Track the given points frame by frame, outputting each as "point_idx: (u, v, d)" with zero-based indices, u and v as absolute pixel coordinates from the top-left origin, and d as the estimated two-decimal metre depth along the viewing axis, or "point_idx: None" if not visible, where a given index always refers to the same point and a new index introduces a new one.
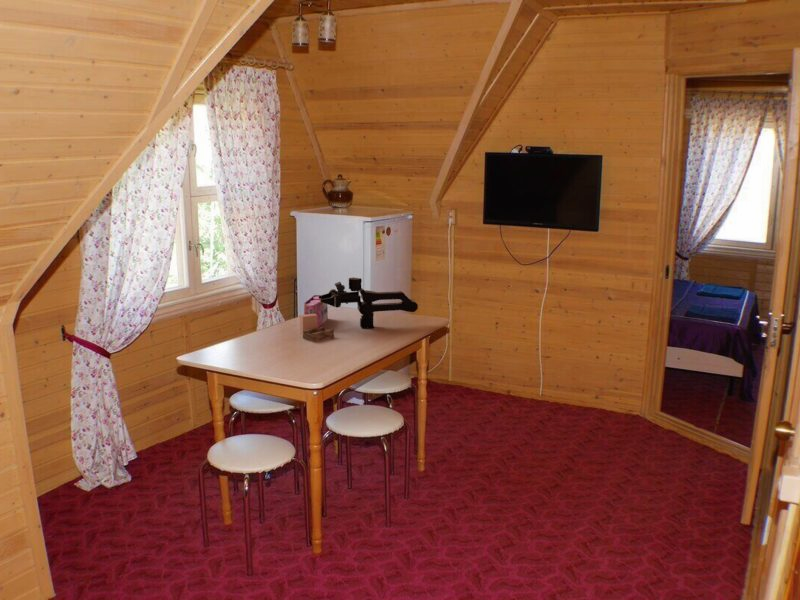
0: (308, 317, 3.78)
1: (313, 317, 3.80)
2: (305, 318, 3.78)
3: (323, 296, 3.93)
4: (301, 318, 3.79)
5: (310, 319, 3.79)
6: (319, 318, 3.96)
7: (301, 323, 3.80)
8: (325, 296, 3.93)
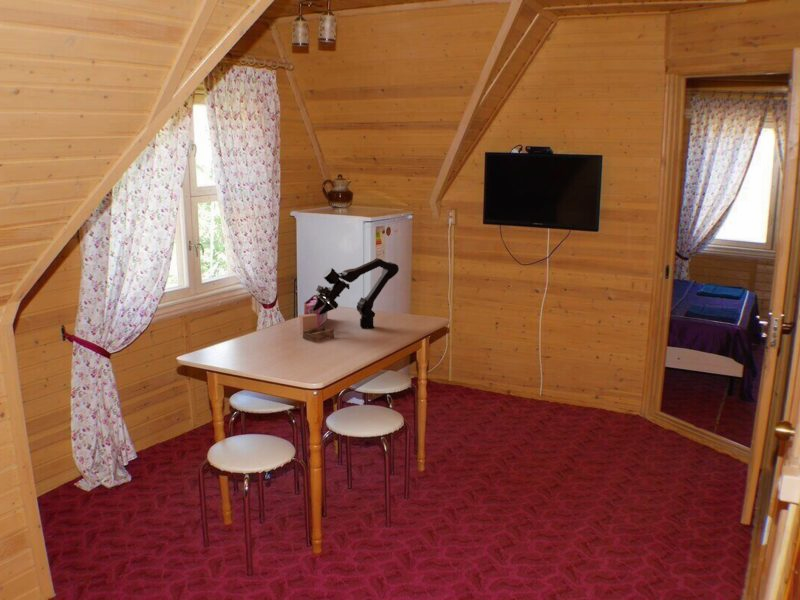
0: (308, 317, 3.78)
1: (313, 317, 3.80)
2: (305, 318, 3.78)
3: (316, 306, 3.86)
4: (301, 318, 3.79)
5: (310, 319, 3.79)
6: (319, 318, 3.96)
7: (301, 323, 3.80)
8: (317, 305, 3.87)
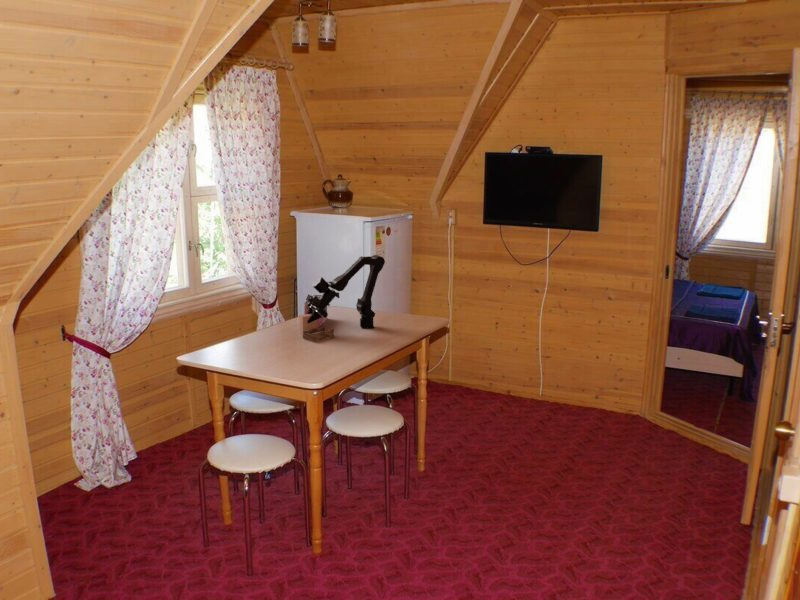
0: (308, 317, 3.78)
1: None
2: (305, 318, 3.78)
3: None
4: (301, 318, 3.79)
5: None
6: (319, 318, 3.96)
7: (301, 323, 3.80)
8: None
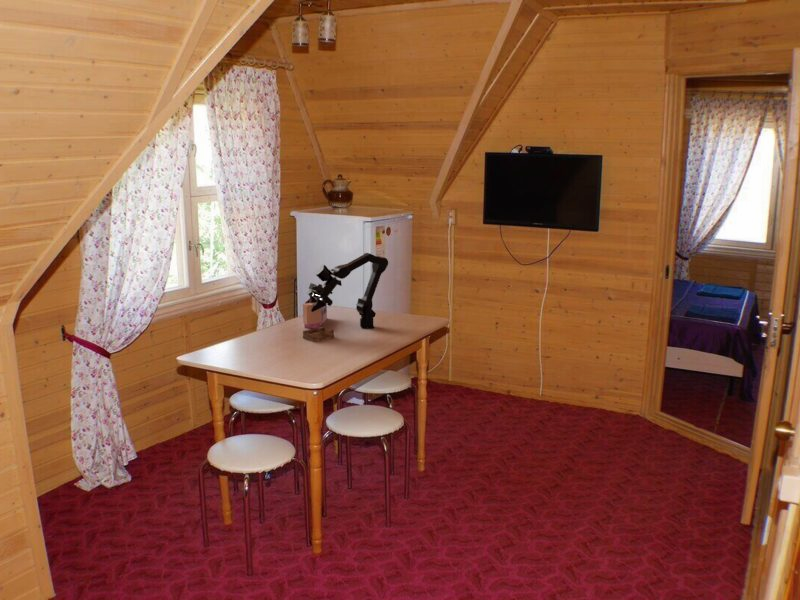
0: (312, 306, 3.73)
1: None
2: (309, 307, 3.73)
3: None
4: (305, 307, 3.73)
5: None
6: None
7: (304, 312, 3.74)
8: None
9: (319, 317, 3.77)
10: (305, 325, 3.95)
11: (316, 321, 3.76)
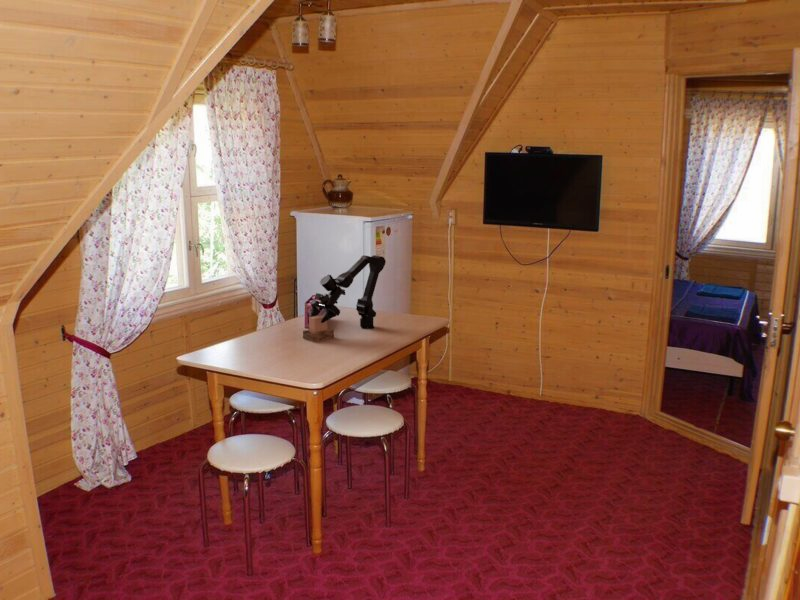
0: (319, 319, 3.70)
1: None
2: (316, 320, 3.69)
3: (313, 315, 3.76)
4: (312, 320, 3.70)
5: None
6: None
7: (312, 325, 3.71)
8: (313, 313, 3.76)
9: (325, 330, 3.74)
10: (305, 325, 3.95)
11: None
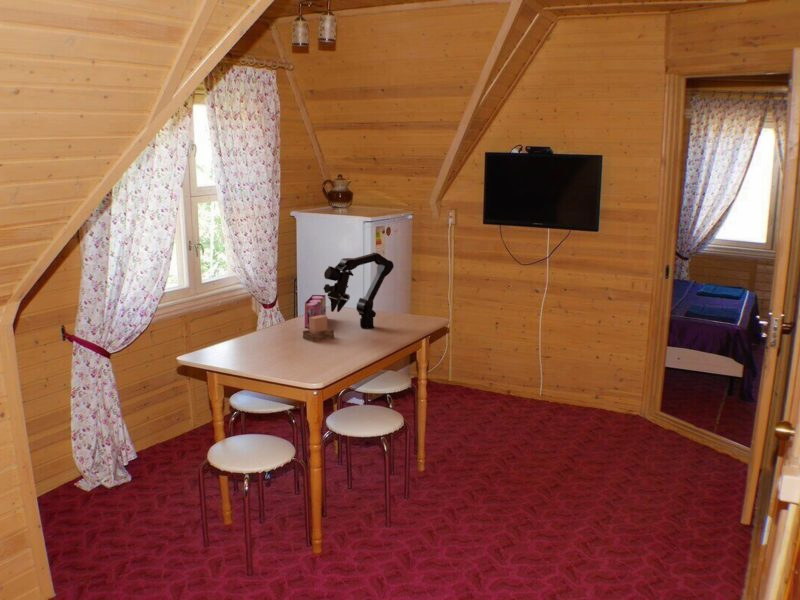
0: (319, 319, 3.70)
1: (323, 318, 3.72)
2: (316, 320, 3.69)
3: (338, 307, 3.87)
4: (312, 320, 3.70)
5: (321, 321, 3.71)
6: None
7: (312, 325, 3.71)
8: (339, 305, 3.87)
9: (325, 330, 3.74)
10: (305, 325, 3.95)
11: None
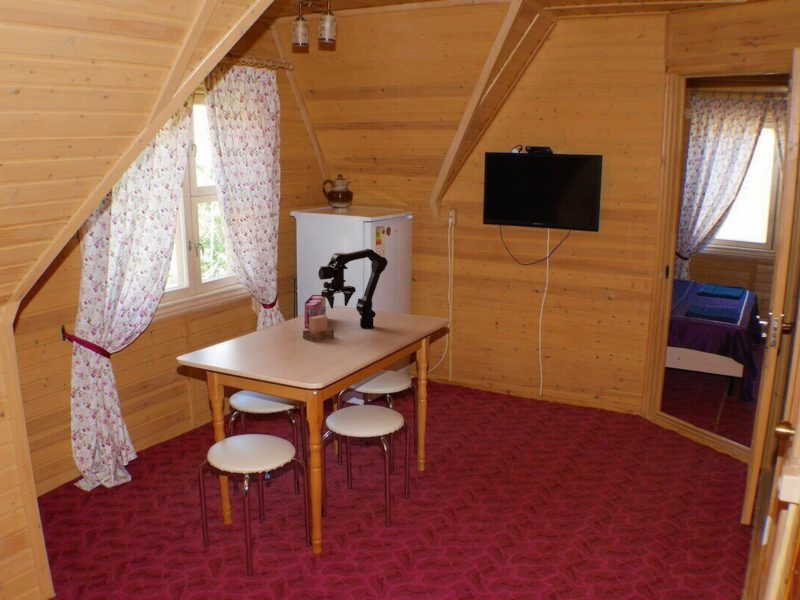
0: (319, 319, 3.70)
1: (323, 318, 3.72)
2: (316, 320, 3.69)
3: (345, 301, 3.88)
4: (312, 320, 3.70)
5: (321, 321, 3.71)
6: None
7: (312, 325, 3.71)
8: (345, 299, 3.88)
9: (325, 330, 3.74)
10: (305, 325, 3.95)
11: None
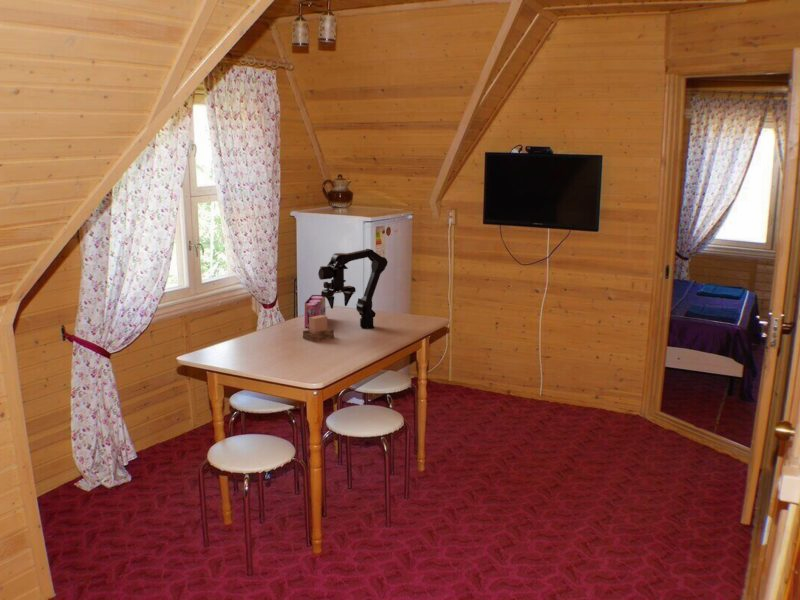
0: (319, 319, 3.70)
1: (323, 318, 3.72)
2: (316, 320, 3.69)
3: (345, 301, 3.88)
4: (312, 320, 3.70)
5: (321, 321, 3.71)
6: None
7: (312, 325, 3.71)
8: (345, 299, 3.88)
9: (325, 330, 3.74)
10: (305, 325, 3.95)
11: None
